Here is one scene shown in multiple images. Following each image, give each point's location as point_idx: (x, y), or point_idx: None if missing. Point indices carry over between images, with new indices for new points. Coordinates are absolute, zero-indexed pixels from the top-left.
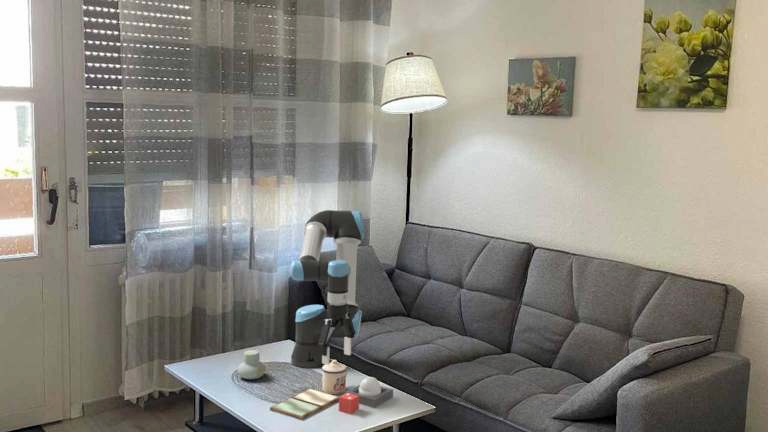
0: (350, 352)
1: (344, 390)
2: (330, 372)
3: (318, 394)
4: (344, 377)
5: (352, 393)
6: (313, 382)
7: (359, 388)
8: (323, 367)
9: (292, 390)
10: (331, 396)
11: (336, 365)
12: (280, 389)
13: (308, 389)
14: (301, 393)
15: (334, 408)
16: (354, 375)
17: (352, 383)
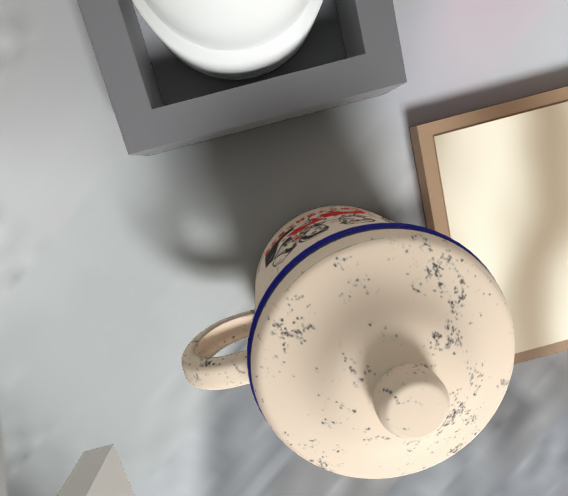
0: (79, 480)
1: (303, 213)
2: (498, 285)
3: (499, 257)
4: (324, 227)
5: (391, 17)
6: None
7: (307, 17)
8: (492, 413)
9: (518, 433)
10: (462, 170)
11: (421, 325)
12: (554, 481)
13: None
14: (563, 337)
15: (545, 27)
16: (40, 416)
17: (146, 310)
